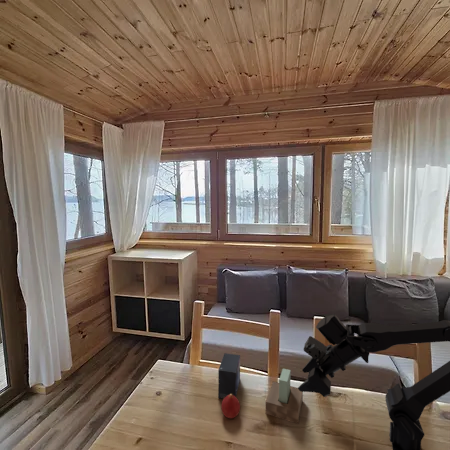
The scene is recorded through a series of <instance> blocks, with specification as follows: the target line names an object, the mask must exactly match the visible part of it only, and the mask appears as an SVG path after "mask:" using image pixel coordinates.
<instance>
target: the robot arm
mask: <svg viewBox="0 0 450 450" xmlns="http://www.w3.org/2000/svg"><path fill="white" fill-rule="evenodd" d="M315 328H316V329H317V330H318V332H319V333H320V334H322V336H323V337H324V338H325V339H326V340H327V342H328V343H329V345H327V346H326V345H325V344H324V343H323V342H321V341H320V340H318V339H316V338H314V337H313V336H311V335H310V336H308V337H307V340H305V343H304V347H303V352H304V353H306V354H307V355H308V356H309V357H311V358H310V359H309V361H308V362H307V363H306V364H305V366H304V367H303V368H302V369H301V370H302V372H303V373H306V374H308V376H307V378H306V379H305V381H303V382H302V383H301V384H300V386H298V387H297V388H298V389H299V391H301V392H304V393H305V392H307V393H318V394H320V395H321V396H322V397H323V398H326V397H328V396H330V395H331V391H332V390H331V389H332V382H331V380H330V379H329V378H328V376H329V377H330V378H331V379H333V378H334V377H335V373H336V372H338V371H340V370H341V371H342V372H344V371H346V370H347V369H346V368H347V367H346V366H348V365H350V364H351V363H352V362H354V361H356V360H358V359H360V358H361V359H362V360H363V361H364V362H365V363H366V364H369V356H370V353H372V354H373V353H378V352H382V351H387V350H388V349H390V348H392V347H394V346H399V345H414V344H426V343H427V344H428V343H430V344H431V343H441V342H442V343H443V342H450V320H447V319H443V320H440V321H431V322H423V323H420V322H419V323H411V324H410V323H409V324H400V325H385V324H382V323H375V322H374V323H373V322H363V323H360V324H349V323H348V324H344V323H343V322H342V321H341V320H340V318H339V317H338V316H337V315H336V313H333V314H332V315H327V316H324V317H323V318H322V319H320V321H319V320H318V322H317V324H316V326H315ZM355 334H356V335H355ZM386 390H387V391H386V392H387V393H386V394H385V403H386V408H387V412H388V416H389V419H390V422H389V441H390V443H391V447H392V448H391V449H392V450H422V449H421V447H422V440H423V438H424V437H425V432H424V430H423V426H422V424H421V422H420V418H421V416H422V414H423V412H424V410H425V408H426V407H427V406H429V405H430V404H432V403H433V402H435V401H437V400H438V399H441V398H442V397H443V396H445V395H446V394H448V393H450V360H448V361H447V362H446V363H445V364H443V365H442V366H440V367H438V368H437V369H435V370H434V371H432V372H431V373H429V374H428V375H426V376H425V377H423V378H422V379H420V380H419V381H418V382H415V383H414V384H412V385H411V386H406V387H405V386H402V385H401V384H400V383H399V382H398V383H396V384H395V385H394V386H393V387H391V388H389V389H388V388H387V389H386Z"/></svg>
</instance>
